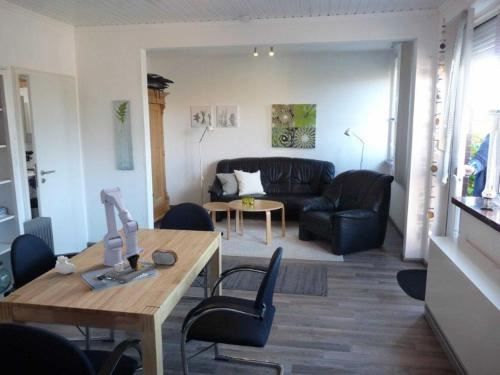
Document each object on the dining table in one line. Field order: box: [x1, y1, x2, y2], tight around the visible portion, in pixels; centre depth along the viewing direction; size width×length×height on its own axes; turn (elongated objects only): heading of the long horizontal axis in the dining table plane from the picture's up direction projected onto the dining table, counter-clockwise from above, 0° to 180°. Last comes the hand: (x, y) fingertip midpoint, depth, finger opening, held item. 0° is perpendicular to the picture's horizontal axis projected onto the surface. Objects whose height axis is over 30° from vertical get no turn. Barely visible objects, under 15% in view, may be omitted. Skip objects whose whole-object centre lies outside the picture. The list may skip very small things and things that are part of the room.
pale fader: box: [114, 263, 124, 272], centre depth 215 cm, size 3×3×4 cm
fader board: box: [103, 260, 157, 284], centre depth 218 cm, size 15×23×2 cm, turn 155°
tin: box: [151, 248, 179, 266], centre depth 229 cm, size 15×3×8 cm, turn 74°
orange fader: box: [135, 260, 141, 270], centre depth 217 cm, size 3×3×4 cm
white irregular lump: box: [55, 255, 77, 275], centre depth 218 cm, size 12×8×11 cm
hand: (133, 268), depth 215 cm, fingers closed
